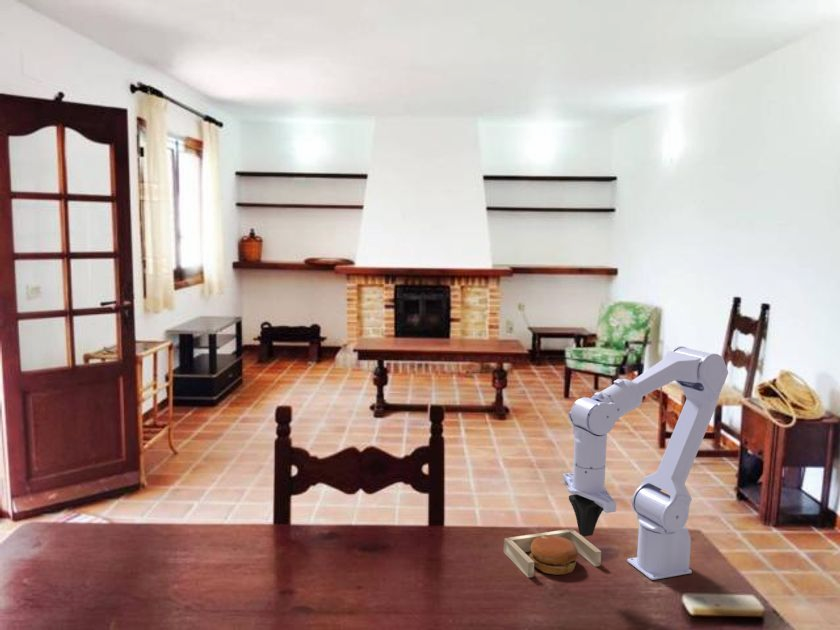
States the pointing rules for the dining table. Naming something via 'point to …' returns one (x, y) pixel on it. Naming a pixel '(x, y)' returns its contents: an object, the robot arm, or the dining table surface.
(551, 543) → the burger
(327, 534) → the dining table surface
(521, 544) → the bay
